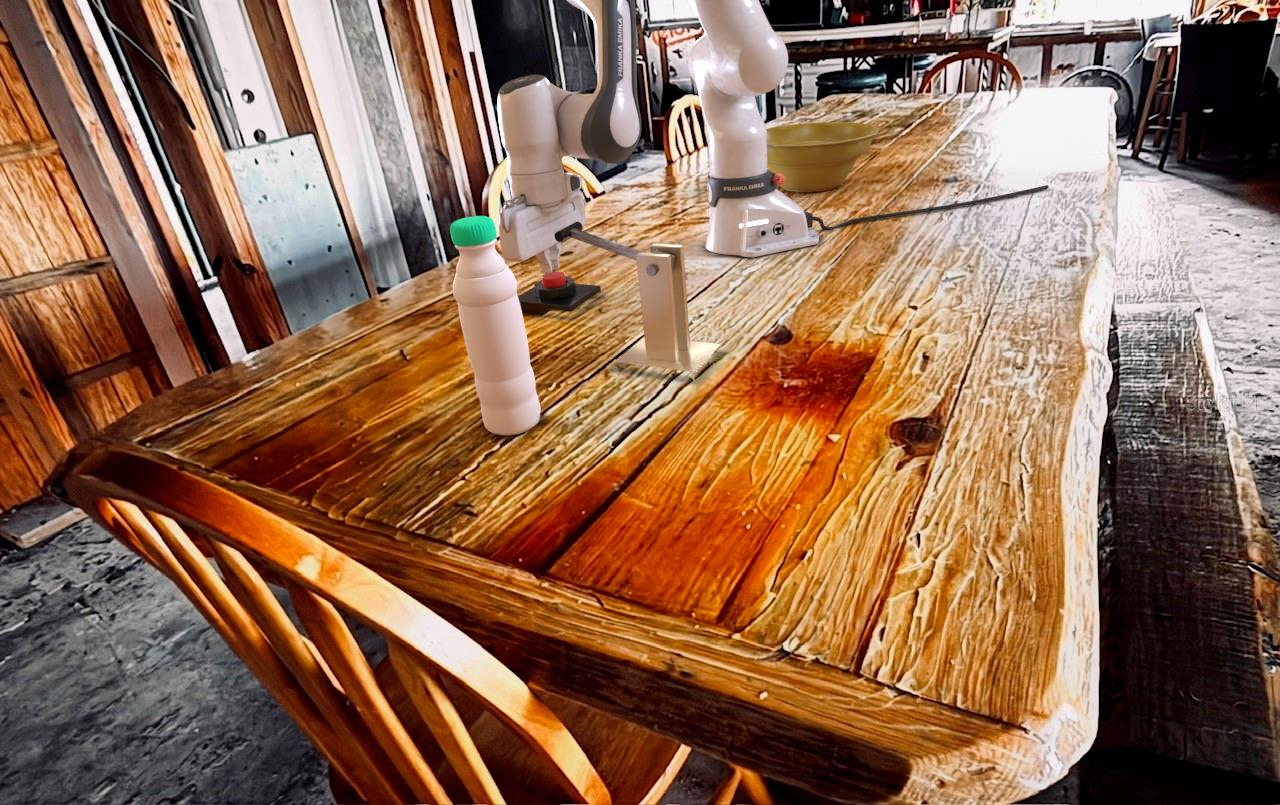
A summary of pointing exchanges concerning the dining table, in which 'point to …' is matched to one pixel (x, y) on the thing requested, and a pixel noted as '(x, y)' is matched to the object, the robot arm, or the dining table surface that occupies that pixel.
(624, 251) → the lever
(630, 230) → the dining table surface
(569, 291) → the control block
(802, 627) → the dining table surface
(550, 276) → the button
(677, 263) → the bracket
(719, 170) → the robot arm
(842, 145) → the planter bowl
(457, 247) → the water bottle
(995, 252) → the dining table surface
